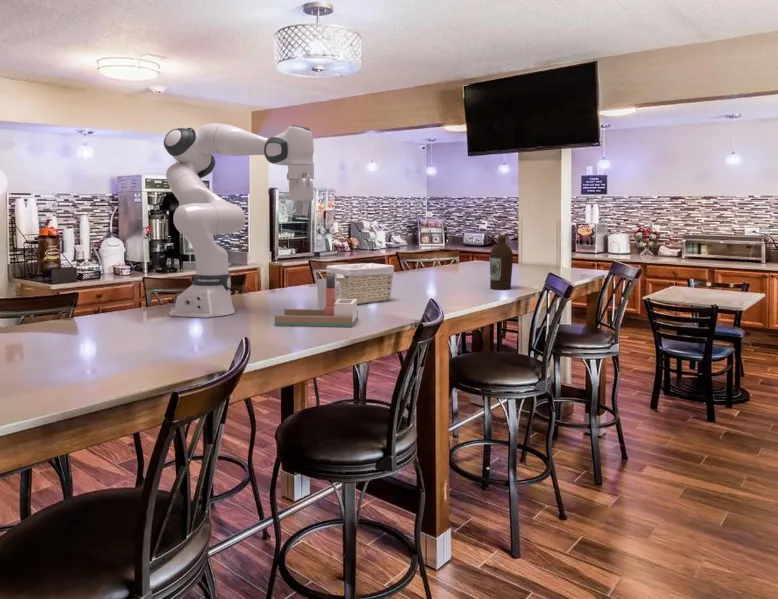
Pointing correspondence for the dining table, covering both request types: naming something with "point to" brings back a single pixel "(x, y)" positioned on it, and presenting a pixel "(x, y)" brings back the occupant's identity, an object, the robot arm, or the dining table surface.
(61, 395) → the dining table surface
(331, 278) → the post
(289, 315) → the board
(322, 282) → the mug
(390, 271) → the storage basket
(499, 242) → the olive oil
